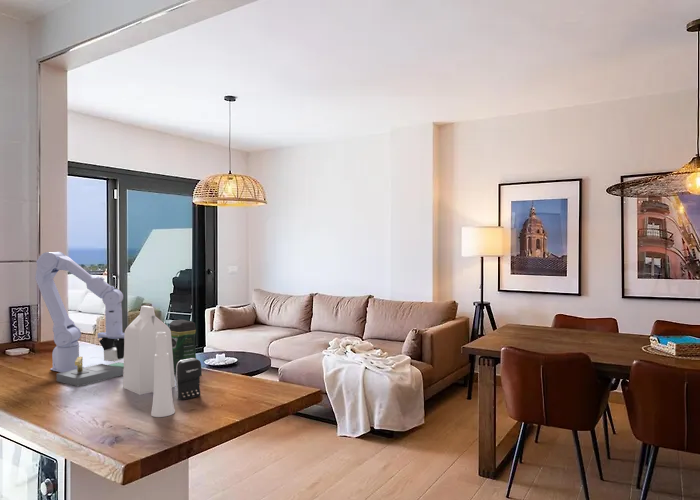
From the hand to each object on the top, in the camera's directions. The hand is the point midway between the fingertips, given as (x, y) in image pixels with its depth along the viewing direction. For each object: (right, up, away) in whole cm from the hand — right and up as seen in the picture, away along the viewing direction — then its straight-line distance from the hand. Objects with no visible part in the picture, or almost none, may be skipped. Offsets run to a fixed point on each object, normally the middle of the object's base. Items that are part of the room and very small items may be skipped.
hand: (114, 357), depth 190 cm
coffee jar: (+28, -3, -8) cm, 30 cm away
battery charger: (+41, -4, -40) cm, 57 cm away
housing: (-2, -4, -15) cm, 16 cm away
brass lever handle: (-3, -1, -20) cm, 21 cm away
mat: (0, -4, 0) cm, 3 cm away
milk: (+24, -4, -28) cm, 37 cm away
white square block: (0, -1, 0) cm, 1 cm away
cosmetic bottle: (+38, -4, -53) cm, 66 cm away
